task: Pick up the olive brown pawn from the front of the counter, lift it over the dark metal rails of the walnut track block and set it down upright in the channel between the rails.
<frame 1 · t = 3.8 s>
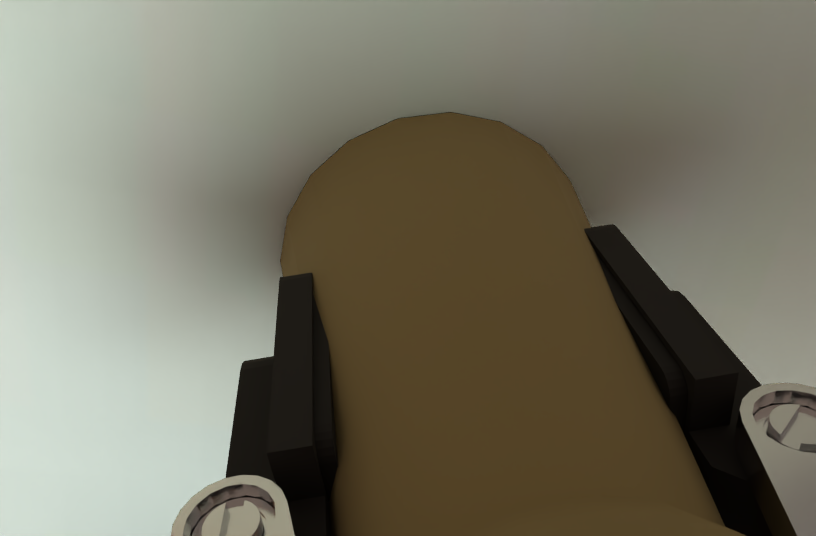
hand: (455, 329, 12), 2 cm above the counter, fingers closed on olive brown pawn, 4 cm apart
olive brown pawn: (433, 256, 14), on the counter, touching gripper
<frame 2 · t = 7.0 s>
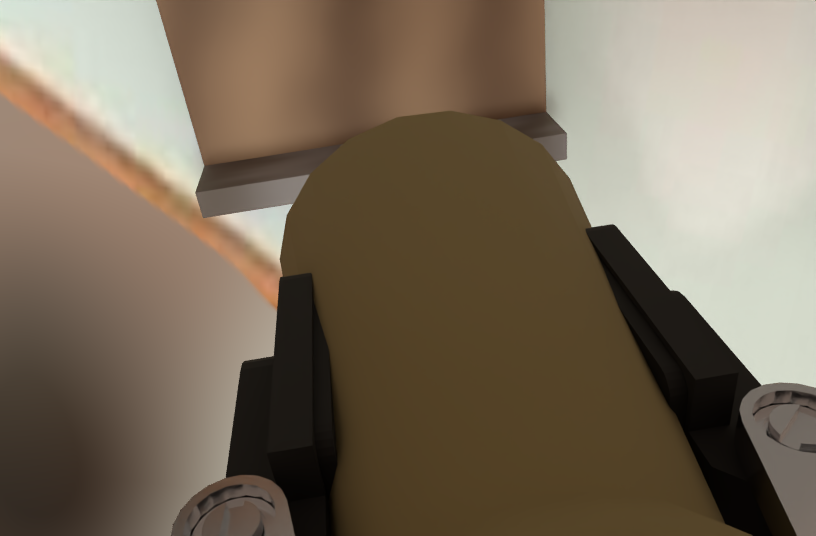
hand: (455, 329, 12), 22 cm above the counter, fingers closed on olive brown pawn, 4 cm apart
track: (362, 45, 31), on the counter
olive brown pawn: (433, 254, 14), point 20 cm above the counter, touching gripper
when the fingers open (5 cm above the counter, at t = 9.9 s): olive brown pawn drops 1 cm, resting on track.
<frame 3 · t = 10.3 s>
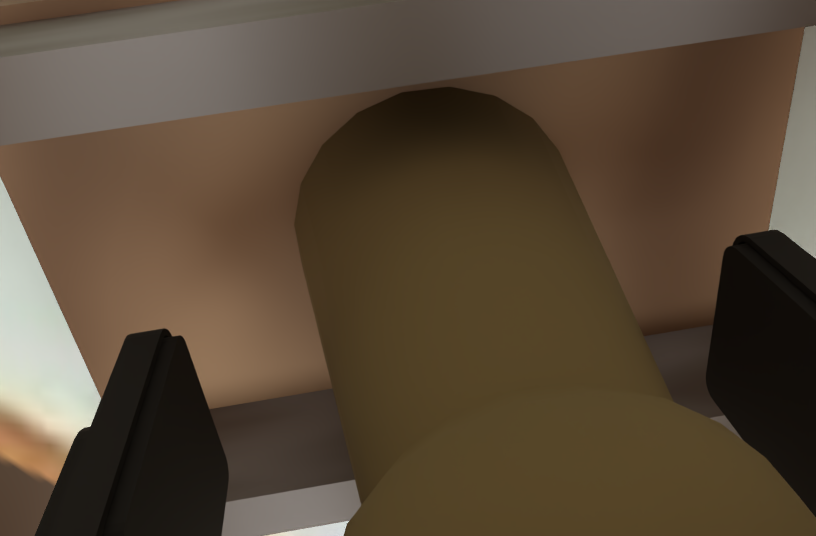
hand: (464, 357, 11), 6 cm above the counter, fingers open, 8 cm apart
track: (417, 208, 16), on the counter
olive brown pawn: (434, 221, 15), point 1 cm above the counter, touching track
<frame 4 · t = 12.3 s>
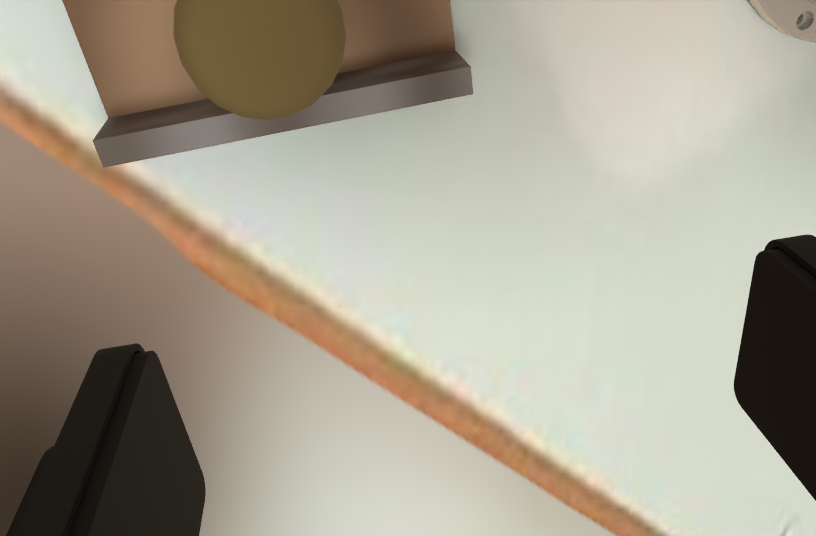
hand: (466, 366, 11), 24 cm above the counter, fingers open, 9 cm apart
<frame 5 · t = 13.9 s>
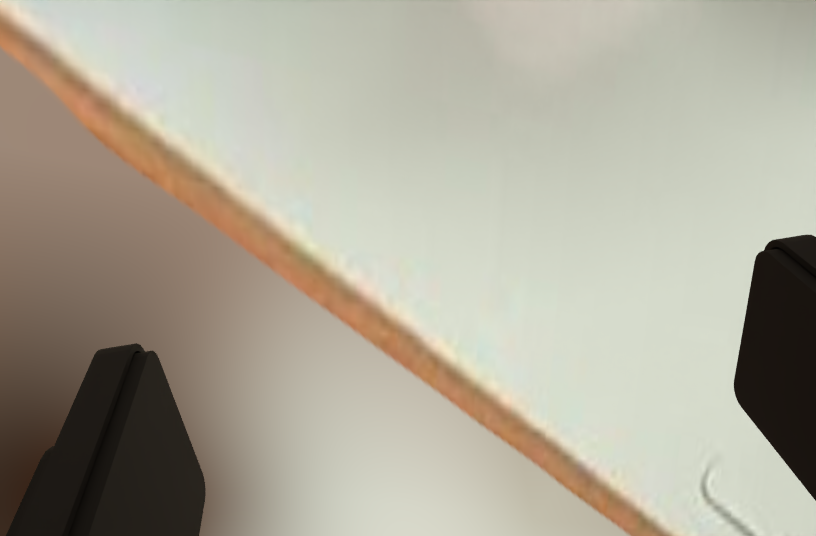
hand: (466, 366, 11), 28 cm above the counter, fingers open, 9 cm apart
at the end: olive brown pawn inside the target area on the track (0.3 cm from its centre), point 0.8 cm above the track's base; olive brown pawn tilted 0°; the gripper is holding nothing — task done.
